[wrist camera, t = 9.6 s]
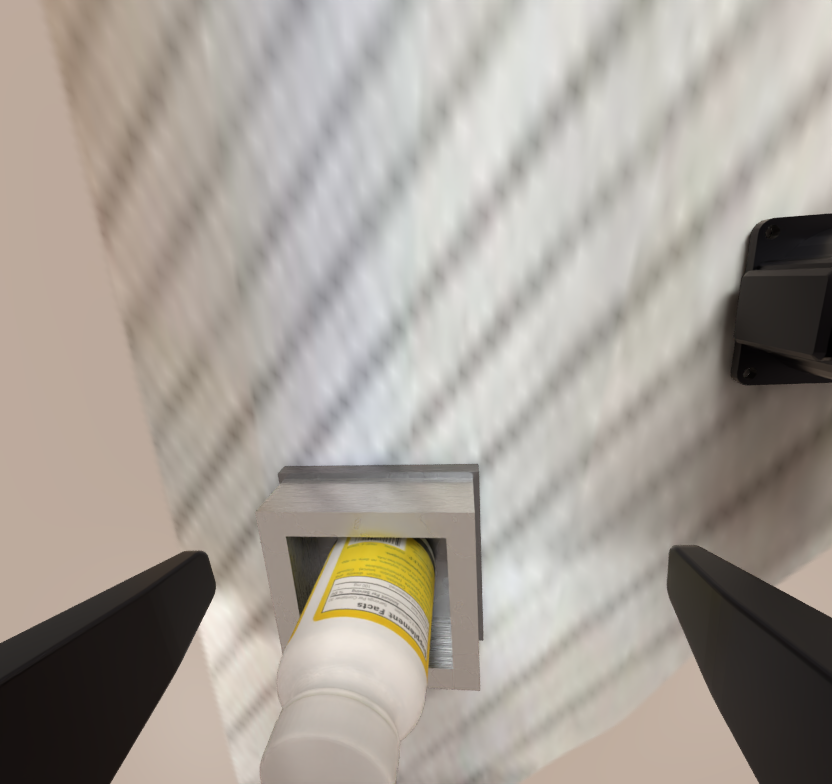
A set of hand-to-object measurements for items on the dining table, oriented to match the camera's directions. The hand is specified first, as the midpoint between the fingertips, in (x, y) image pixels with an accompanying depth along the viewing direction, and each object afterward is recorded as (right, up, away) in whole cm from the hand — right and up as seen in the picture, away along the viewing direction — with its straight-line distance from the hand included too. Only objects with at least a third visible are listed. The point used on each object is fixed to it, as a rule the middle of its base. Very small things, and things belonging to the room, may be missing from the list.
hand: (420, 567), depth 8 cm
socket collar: (-2, -5, +14) cm, 15 cm away
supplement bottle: (-2, -5, +13) cm, 14 cm away
